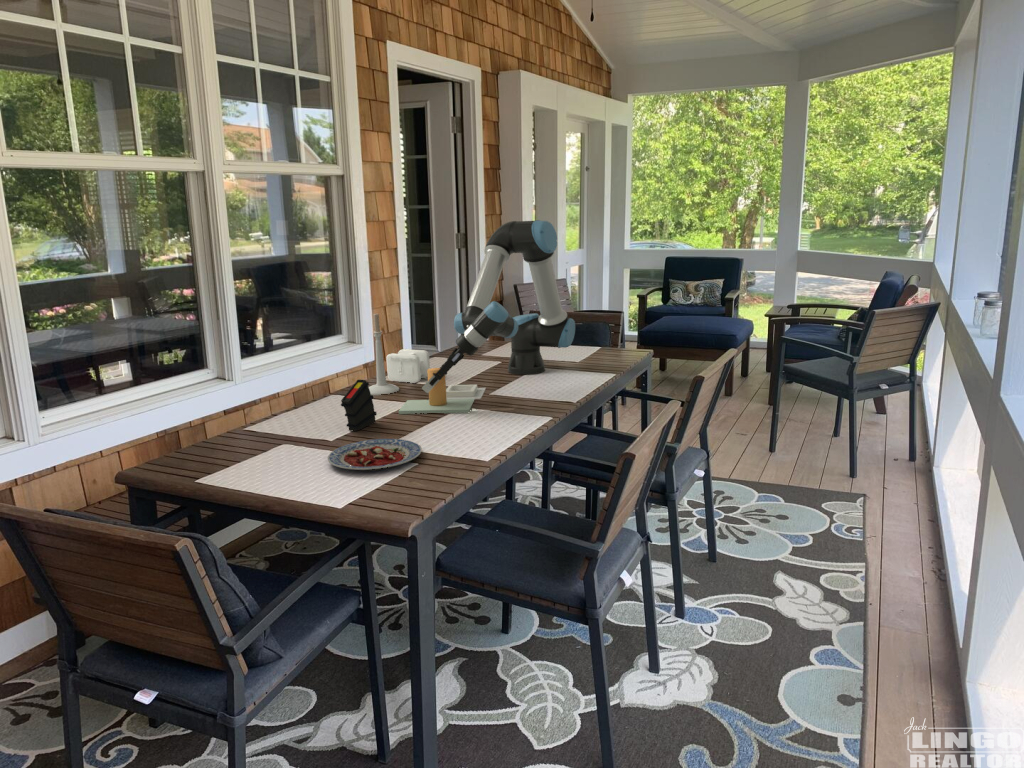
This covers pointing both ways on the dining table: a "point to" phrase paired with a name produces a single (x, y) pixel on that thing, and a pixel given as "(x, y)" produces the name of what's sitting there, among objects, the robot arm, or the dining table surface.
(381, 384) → the candlestick
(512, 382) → the dining table surface
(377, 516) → the dining table surface
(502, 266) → the robot arm
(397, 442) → the ceramic plate
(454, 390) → the base
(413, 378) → the cable organizer
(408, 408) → the sage board
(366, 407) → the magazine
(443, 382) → the orange plug
